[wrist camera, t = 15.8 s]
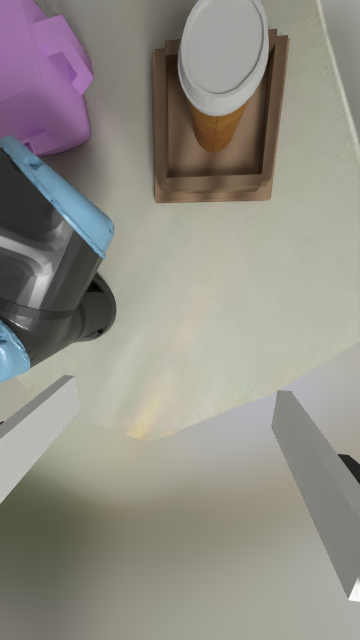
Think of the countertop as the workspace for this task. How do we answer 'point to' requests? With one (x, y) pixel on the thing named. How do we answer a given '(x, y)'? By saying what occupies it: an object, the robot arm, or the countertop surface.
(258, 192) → the cup caddy
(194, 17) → the disposable coffee cup
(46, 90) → the teakettle
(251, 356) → the countertop surface
